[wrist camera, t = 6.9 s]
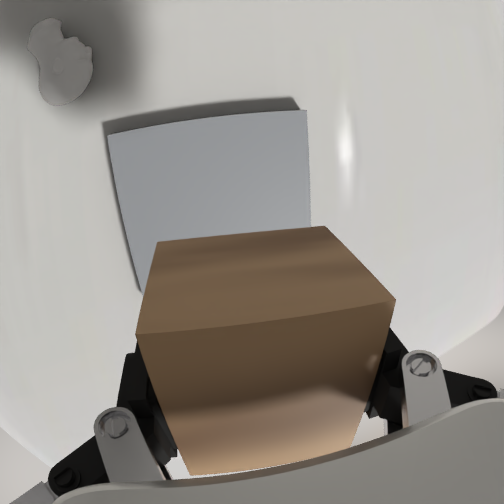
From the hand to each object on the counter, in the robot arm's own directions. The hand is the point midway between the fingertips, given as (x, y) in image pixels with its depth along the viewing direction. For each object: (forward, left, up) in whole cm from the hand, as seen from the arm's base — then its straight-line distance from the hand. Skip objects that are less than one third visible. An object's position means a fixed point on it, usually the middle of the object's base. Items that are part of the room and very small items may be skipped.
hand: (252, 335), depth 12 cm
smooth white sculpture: (-15, -11, -18) cm, 26 cm away
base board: (+1, 0, -18) cm, 18 cm away
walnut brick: (0, 0, -1) cm, 1 cm away
